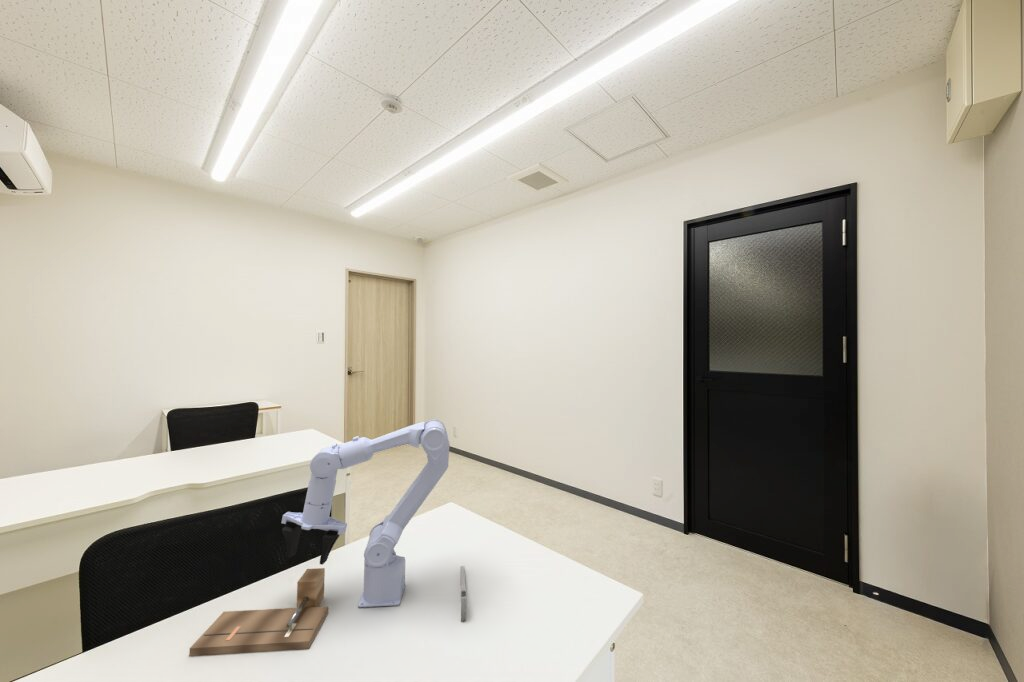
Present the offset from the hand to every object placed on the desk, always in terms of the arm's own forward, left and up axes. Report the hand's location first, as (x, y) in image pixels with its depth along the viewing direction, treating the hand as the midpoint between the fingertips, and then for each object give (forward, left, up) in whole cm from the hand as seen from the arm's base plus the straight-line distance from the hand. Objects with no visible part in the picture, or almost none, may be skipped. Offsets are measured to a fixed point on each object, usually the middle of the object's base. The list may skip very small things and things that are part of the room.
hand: (307, 558), depth 87 cm
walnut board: (+5, +8, -11) cm, 14 cm away
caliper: (-36, -2, -11) cm, 38 cm away
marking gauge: (-1, +4, -11) cm, 12 cm away
